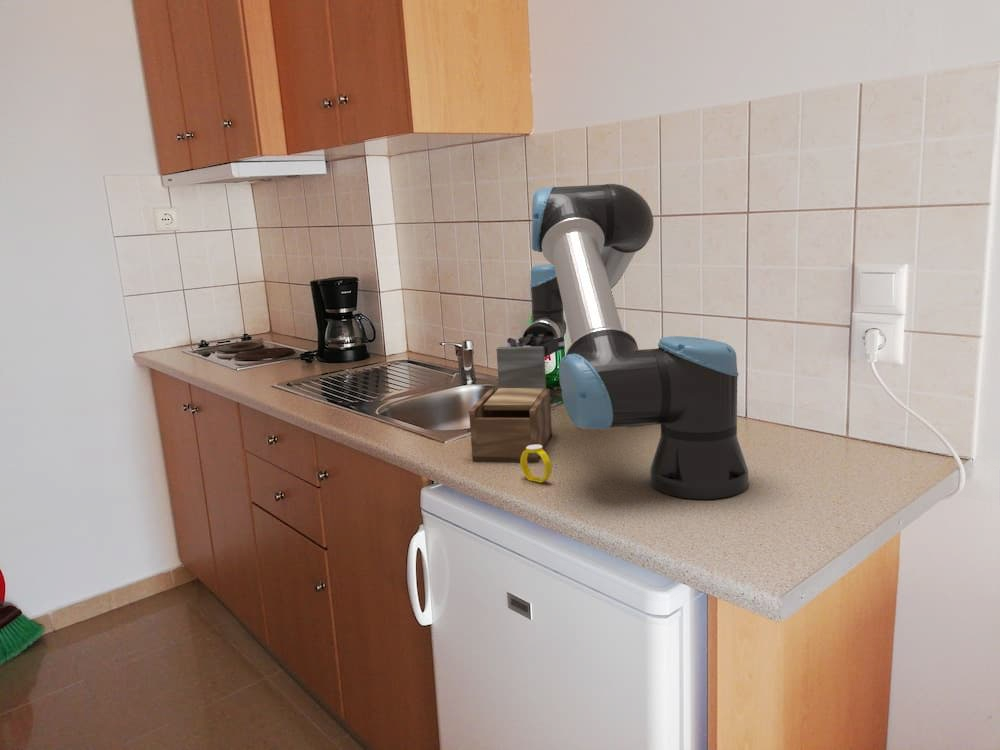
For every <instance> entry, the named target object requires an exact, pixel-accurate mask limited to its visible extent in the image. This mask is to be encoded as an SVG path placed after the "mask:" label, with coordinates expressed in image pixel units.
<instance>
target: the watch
mask: <svg viewBox="0 0 1000 750" xmlns="http://www.w3.org/2000/svg"><path fill="white" fill-rule="evenodd" d="M528 453H537V454H538V455H539V456H540V459H541V461H542V463H543V465H544V475H543V477H537V476H535V475H534V474H532V472H531V471H530V468H529V465H528V462H527V456H528ZM519 463H520V468H521V471H522V473H523V476H525V478H526V479H527V480H528V481H530V482H531V481H532V482H537V483H540V484H541V483H544V482H547V481H548V480H549V478H550V477H551V476H552V472H553V470H552V469H553V468H552V462H551V459H550V457H549V455H548V454H547V452H546V451H545V450H543V446H542V445H537V444H535V445H529V446H527V447H526V450H525V451H523V453H522V455H521V458H520V462H519Z"/></svg>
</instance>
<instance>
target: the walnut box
mask: <svg viewBox="0 0 1000 750" xmlns="http://www.w3.org/2000/svg"><path fill="white" fill-rule="evenodd" d="M550 389H551V388H546V389H544V390H543V392H542V393H541V395H540V396H539V397H538V399H537V400H536V402H535V403H534V405H533V406H532V408H531V409H530V410H484V406H483V405H484V404H485V403H486V402H487V401H488V399H489V398H490V397H491V396H492V395H493V394H494V393H495V392H496V389H495V388H489V389H488V391H487V390H486V392H485V393H484V394H483V395H482V397H481V398H479V400H478V401H477V402H475V403H474V405H473V406H472V407H470V409H469V410H468V415H469V416H468V418H469V430H470V442H471V458H472V462H473V463H474V462H475V463H477V462H480V463H521V462H520V458H521V455H522V453H523V451H525V450H526V447H527V446H529V445H535V444H537V445H542V446H543V450H544V451H545V450H546V448H547V446H548V444H549V442H550V441H551V439H552V437H553V432H552V411H551V409H552V408H551V407H552V406H551V394H550V393H551V390H550ZM540 459H541V457H540V456H539V455H538V454H537V453H528V456H527V463H529V464H530V463H533V464H534V463H535V464H537V463H539V461H540Z"/></svg>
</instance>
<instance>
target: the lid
mask: <svg viewBox="0 0 1000 750" xmlns="http://www.w3.org/2000/svg"><path fill="white" fill-rule="evenodd" d="M496 357H497V358H496V360H497V361H496V363H497V378H498V379H497V380H498V389H497V390H495V393H494V394H493V395H492V396H491V397H490V398H489V399H488V401H487V402H486V403H485V404H484V405H483V406H484V410H530V409H531V408H532V406H533V405H534V403H535V402H536V400H537V399H538V397H539V396H540V395H541V393H542V392H543V390H544V389H547V380H546V377H547V375H546V360H545V359H546V357H545V355H544V346H522V347H519V346H518V347H508V346H498V347H497V348H496Z"/></svg>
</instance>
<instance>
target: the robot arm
mask: <svg viewBox="0 0 1000 750" xmlns="http://www.w3.org/2000/svg"><path fill="white" fill-rule="evenodd" d="M531 209H532V210H531V249H532V251H534V252H538V253H542V255H543V256H544V258H545V260H546V261H547V262H548V264H547V263H546V264H537V265H535V266H533V267H531V269H530V284H529V287H530V298H531V300H530V301H531V320H532V323H531V324H530V325H529V326H528V327H527V328H526V329H525V331H524V332H523V335H522V337H519V338H518V339H517V338H512V337H509V338H507V342H506V343H507V347H522V346H544V355H545V358H546V357H548V356H551V355H553V354H554V353H557V352H558V351H562V350H565V335H566V333H567V329H568V333H569V338H570V342H571V344H570V345H569V347H568V348H567V350H566V354H565V356H563V357H562V358H561V359H560V362H559V366H558V367H559V368H558V380H559V386H560V389H561V397H562V401H563V404H564V408H565V410H566V414H567V415H568V418H569V419H570V421H571V422H572V424H574V425H575V426H576V427H578V428H580V429H582V430H592V429H593V430H594V429H595V430H596V429H598V430H603V431H604V430H609V429H610V428H623V427H633V426H646V425H656V424H660V437H659V441H658V444H657V446H656V450H655V454H654V456H653V459H652V462H651V466H650V471H649V472H650V484H651V486H652V487H653V488H654V489H656V491H659V492H661V493H663V494H665V495H669V496H673V497H677V498H684V499H691V500H713V499H714V500H717V499H723V498H729V497H731V496H735V495H738V494H741V493H742V492H744V491H746V490H747V488H748V487H749V468H748V466H747V463H746V459H745V457H744V454H743V451H742V448H741V445H740V442H739V439H738V428H737V427H738V377H739V372H738V364H737V363H738V362H737V361H738V360H737V353H736V350H735V349H734V348H733V346H731V345H730V344H729V343H728V344H727V343H726V342H722V341H719V340H715V339H710V338H709V339H708V338H704V337H694V336H682V335H681V336H680V335H679V336H677V335H676V336H675V335H673V336H672V335H671V336H663V337H661V338H660V339H659V341H658V344H657V348H649V349H648V348H645V349H639V347H638V343H637V341H636V339H635V337H634V336H632V334H631V333H629V332H628V331H626V330H625V329H624V330H623V327H622V324H621V323H622V322H621V320H620V316H619V313H618V309H617V306H616V302H615V300H614V298H613V295H612V291H611V289H612V288H613V287H614V286H615V285H616V284H617V283H618V281H619V280H620V279H621V277H622V276H623V274H625V272H626V270H627V268H628V267H629V265H630V263H631V261H632V260H633V259H634V257H635V255H636V253H637V252H639V251H641V250H642V249H643V248H644V247H645V246H646V245H647V243H648V242H649V240H650V238H651V236H652V234H653V230H654V225H655V224H654V216H653V213H652V210H651V206H649V204H648V202H647V201H646V199H644V198H643V196H641V194H639V193H638V192H637V191H635V190H634V189H632V188H631V187H628V186H625V185H622V184H617V183H606V184H592V185H588V184H587V185H571V186H551V187H547V188H540V189H537V190H535V192H534V193H533V196H532V207H531ZM564 316H565V317H564ZM564 318H565V319H564ZM565 320H566V321H565Z"/></svg>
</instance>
